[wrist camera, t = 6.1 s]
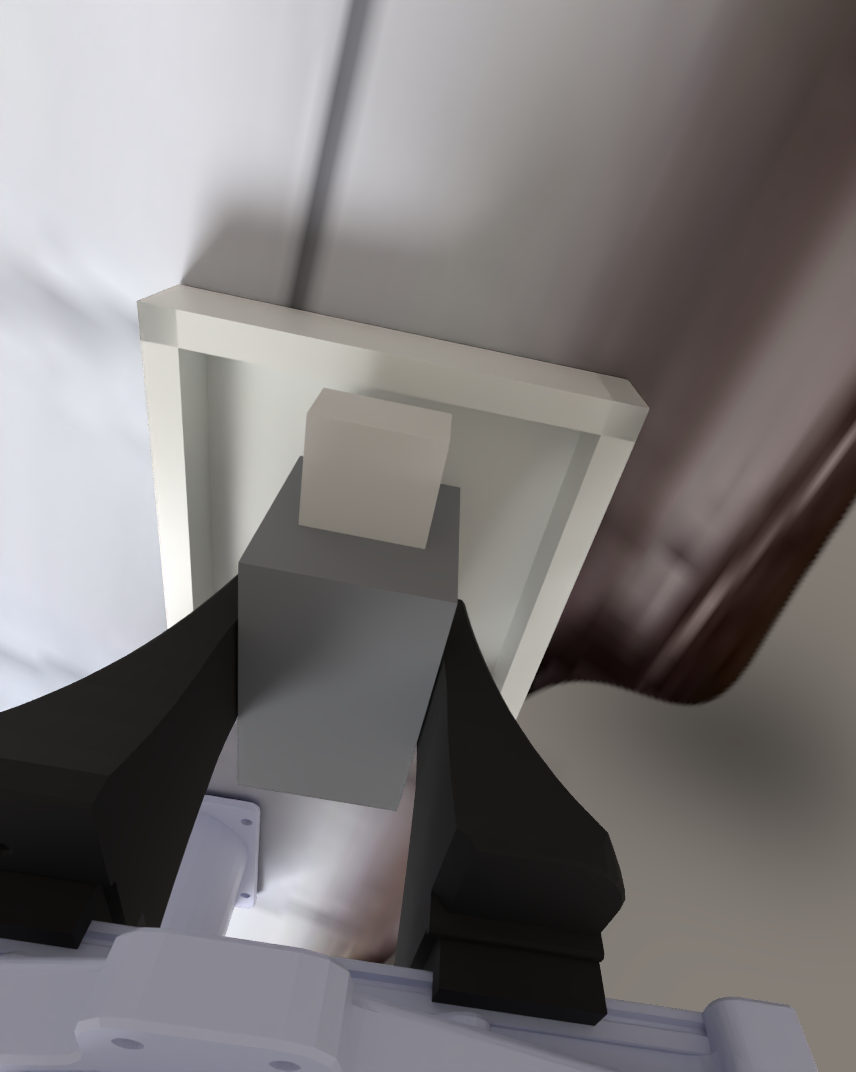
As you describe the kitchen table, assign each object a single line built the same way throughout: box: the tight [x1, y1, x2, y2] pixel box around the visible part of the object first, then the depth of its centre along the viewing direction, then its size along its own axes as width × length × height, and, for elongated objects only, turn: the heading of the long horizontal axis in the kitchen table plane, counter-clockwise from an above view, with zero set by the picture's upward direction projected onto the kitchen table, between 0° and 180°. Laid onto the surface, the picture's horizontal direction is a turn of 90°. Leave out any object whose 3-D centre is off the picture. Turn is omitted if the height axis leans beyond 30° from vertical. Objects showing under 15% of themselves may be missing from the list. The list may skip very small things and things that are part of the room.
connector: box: [238, 388, 460, 811], centre depth 13 cm, size 9×4×4 cm, turn 169°
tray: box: [137, 284, 650, 720], centre depth 16 cm, size 12×11×2 cm
